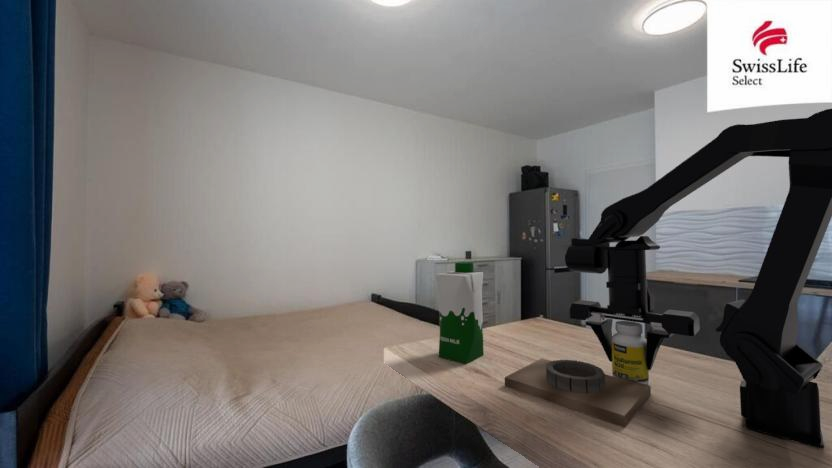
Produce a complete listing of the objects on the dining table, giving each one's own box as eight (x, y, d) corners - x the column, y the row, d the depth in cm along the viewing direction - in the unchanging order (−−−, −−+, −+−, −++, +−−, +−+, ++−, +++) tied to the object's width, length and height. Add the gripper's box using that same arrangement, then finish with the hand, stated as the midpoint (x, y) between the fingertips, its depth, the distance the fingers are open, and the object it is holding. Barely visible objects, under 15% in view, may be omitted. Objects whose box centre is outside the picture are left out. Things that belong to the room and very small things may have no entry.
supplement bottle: (609, 380, 59) (607, 324, 59) (616, 371, 63) (614, 318, 63) (646, 389, 55) (643, 328, 55) (651, 379, 59) (649, 322, 59)
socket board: (650, 395, 53) (650, 372, 53) (624, 427, 44) (623, 400, 44) (541, 366, 66) (541, 348, 66) (504, 386, 57) (504, 365, 57)
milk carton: (489, 354, 73) (487, 262, 74) (467, 367, 67) (464, 265, 67) (455, 347, 79) (453, 261, 80) (431, 357, 72) (430, 264, 73)
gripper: (703, 275, 58) (706, 366, 58) (588, 270, 72) (591, 344, 71) (691, 281, 50) (695, 386, 50) (565, 274, 64) (568, 357, 64)
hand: (629, 365), depth 59 cm, fingers closed on supplement bottle, 5 cm apart
